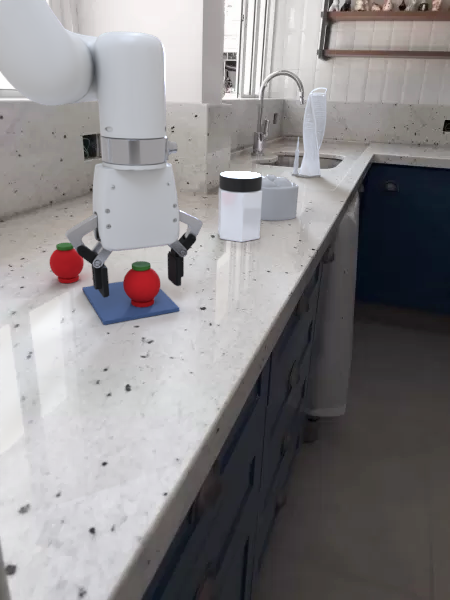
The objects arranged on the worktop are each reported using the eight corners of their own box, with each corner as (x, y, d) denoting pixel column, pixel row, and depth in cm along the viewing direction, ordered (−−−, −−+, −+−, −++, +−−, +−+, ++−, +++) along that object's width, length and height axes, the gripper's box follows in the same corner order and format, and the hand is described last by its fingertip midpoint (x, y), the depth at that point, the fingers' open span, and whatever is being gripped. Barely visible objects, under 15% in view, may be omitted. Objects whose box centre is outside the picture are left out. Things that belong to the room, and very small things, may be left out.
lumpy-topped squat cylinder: (244, 207, 119) (245, 171, 115) (297, 211, 117) (300, 175, 113) (237, 217, 109) (238, 179, 106) (294, 222, 107) (297, 182, 104)
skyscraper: (307, 173, 172) (316, 87, 160) (325, 176, 166) (335, 87, 155) (291, 175, 167) (298, 86, 155) (309, 178, 161) (318, 87, 150)
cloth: (103, 325, 59) (103, 321, 59) (82, 290, 69) (82, 287, 69) (179, 311, 63) (179, 307, 63) (149, 280, 73) (149, 277, 73)
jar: (266, 234, 98) (270, 173, 93) (252, 244, 91) (255, 180, 86) (226, 228, 101) (227, 169, 96) (209, 237, 94) (210, 175, 90)
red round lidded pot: (130, 312, 61) (128, 272, 59) (120, 299, 65) (117, 260, 63) (166, 306, 63) (165, 267, 61) (153, 293, 67) (152, 256, 65)
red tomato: (54, 287, 69) (50, 251, 67) (49, 276, 73) (44, 242, 71) (88, 282, 71) (85, 247, 69) (81, 272, 75) (78, 238, 73)
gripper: (189, 147, 63) (189, 270, 70) (52, 150, 56) (67, 287, 63) (214, 154, 57) (211, 288, 64) (64, 159, 50) (79, 310, 57)
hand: (140, 287), depth 63 cm, fingers open, 9 cm apart
